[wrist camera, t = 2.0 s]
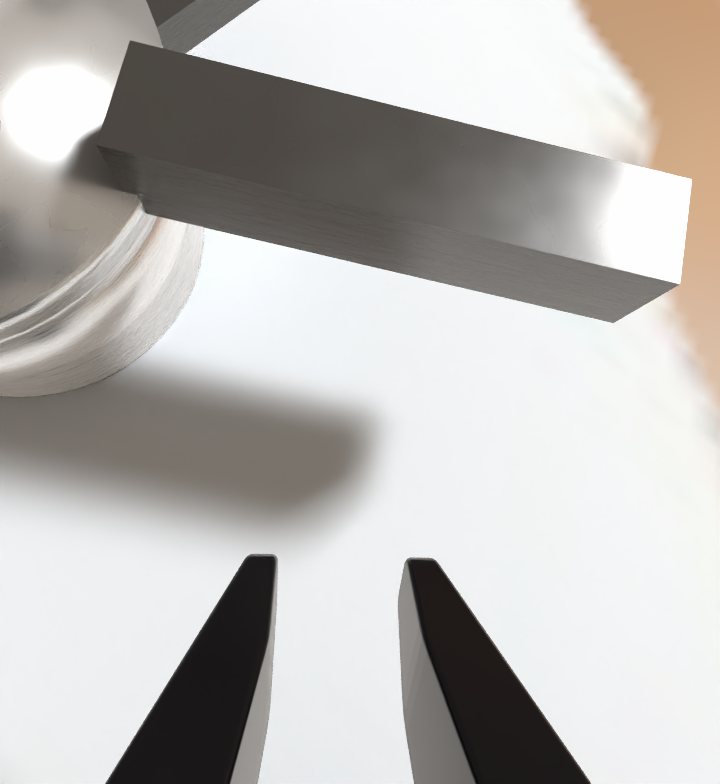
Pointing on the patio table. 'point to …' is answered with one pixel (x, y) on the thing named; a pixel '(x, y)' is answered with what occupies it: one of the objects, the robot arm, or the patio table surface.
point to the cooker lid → (295, 176)
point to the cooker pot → (121, 268)
